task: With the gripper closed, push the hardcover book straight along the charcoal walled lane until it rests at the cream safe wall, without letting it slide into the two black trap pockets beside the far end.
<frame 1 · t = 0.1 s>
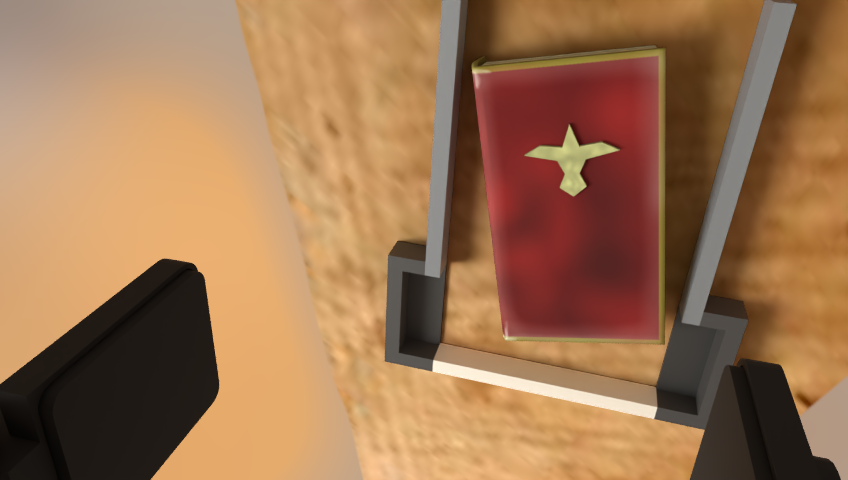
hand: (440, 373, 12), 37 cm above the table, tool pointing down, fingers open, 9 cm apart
trap box: (573, 201, 49), on the table
hardcover book: (575, 191, 49), on the table
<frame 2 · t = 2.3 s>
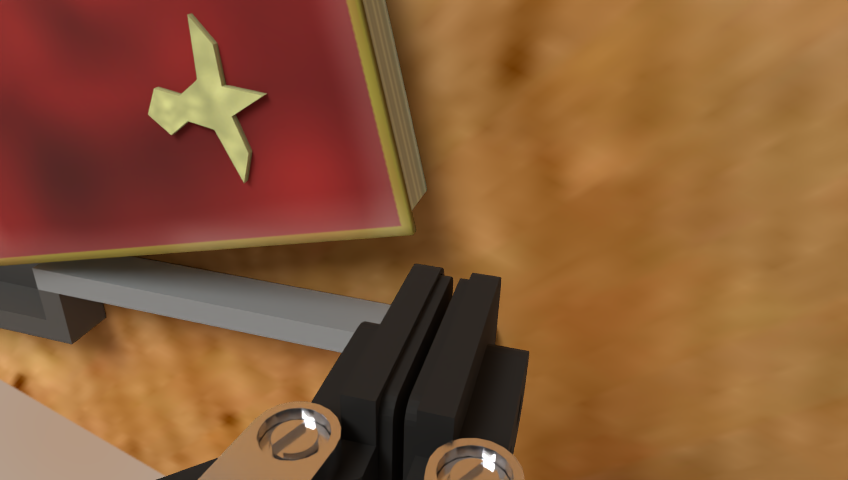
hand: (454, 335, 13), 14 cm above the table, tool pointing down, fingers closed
trap box: (163, 83, 28), on the table
hardcover book: (184, 85, 29), on the table
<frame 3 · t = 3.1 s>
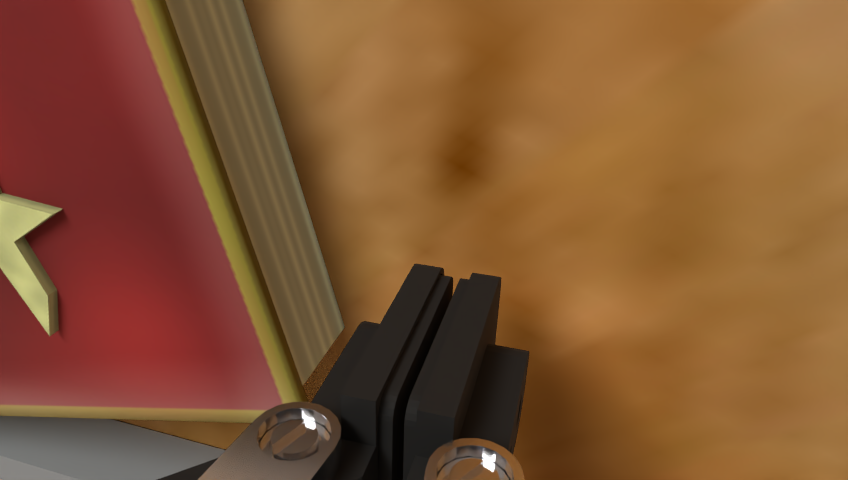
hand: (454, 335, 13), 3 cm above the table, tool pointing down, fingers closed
hardcover book: (6, 167, 20), on the table
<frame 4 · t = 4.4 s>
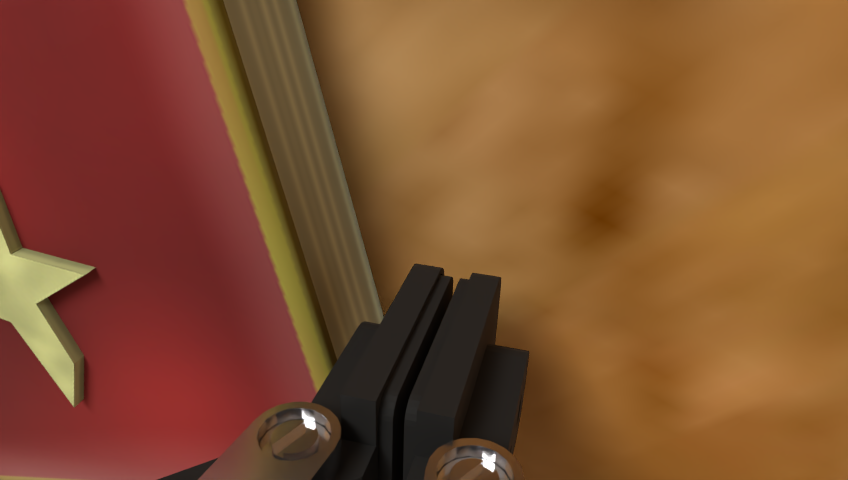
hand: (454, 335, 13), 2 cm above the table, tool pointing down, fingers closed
hardcover book: (13, 203, 18), on the table
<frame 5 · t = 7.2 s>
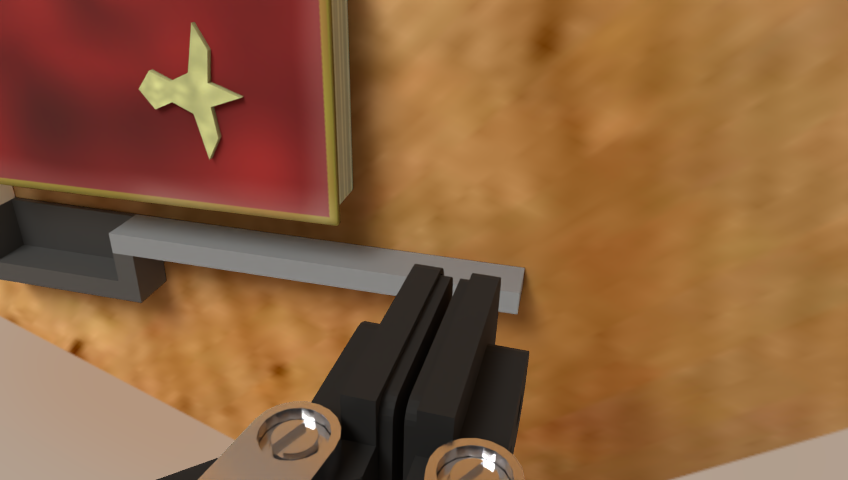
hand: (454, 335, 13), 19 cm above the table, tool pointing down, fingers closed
trap box: (234, 64, 32), on the table
hardcover book: (164, 61, 34), on the table
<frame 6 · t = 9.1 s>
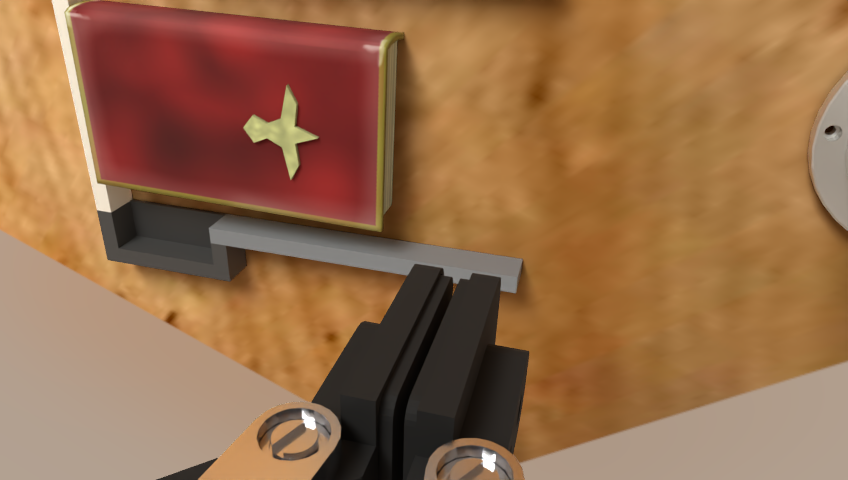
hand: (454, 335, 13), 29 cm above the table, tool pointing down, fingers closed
trap box: (308, 104, 44), on the table
hardcover book: (255, 102, 45), on the table
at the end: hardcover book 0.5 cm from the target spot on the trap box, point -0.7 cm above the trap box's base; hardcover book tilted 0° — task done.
